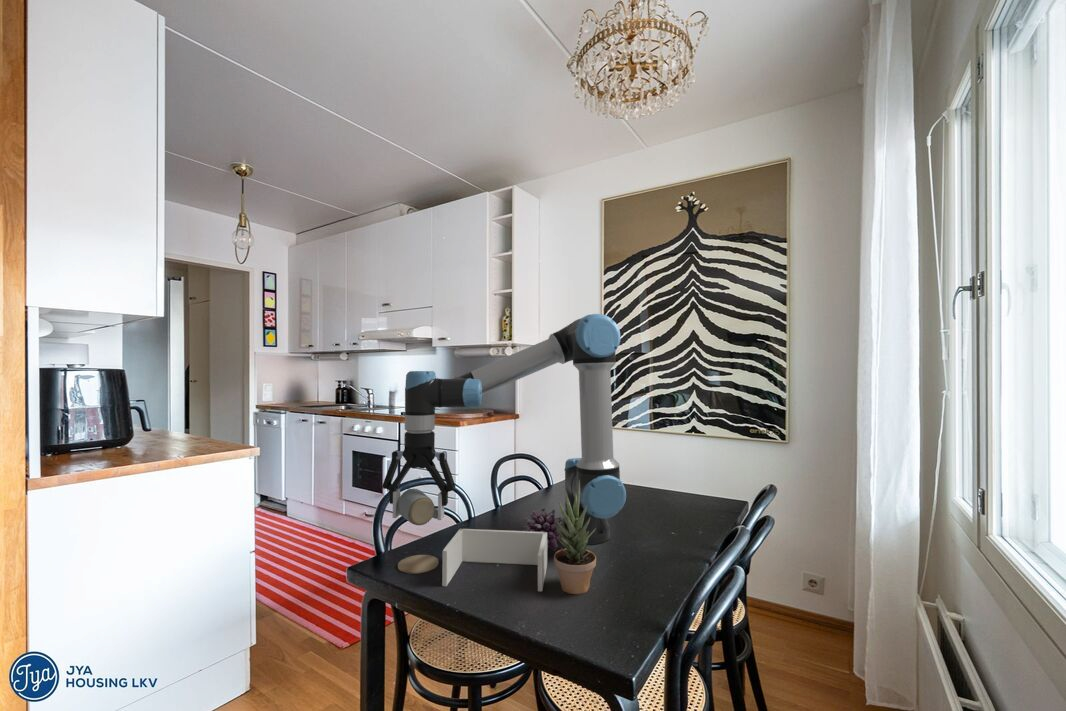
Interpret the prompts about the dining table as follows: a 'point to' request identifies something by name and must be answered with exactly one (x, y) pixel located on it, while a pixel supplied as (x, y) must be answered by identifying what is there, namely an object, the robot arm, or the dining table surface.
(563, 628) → the dining table surface
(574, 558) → the potted plant
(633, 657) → the dining table surface
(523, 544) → the white u-shaped wall
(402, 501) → the ceramic mug
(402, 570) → the coaster
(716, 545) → the dining table surface
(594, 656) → the dining table surface
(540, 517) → the purple round cluster
